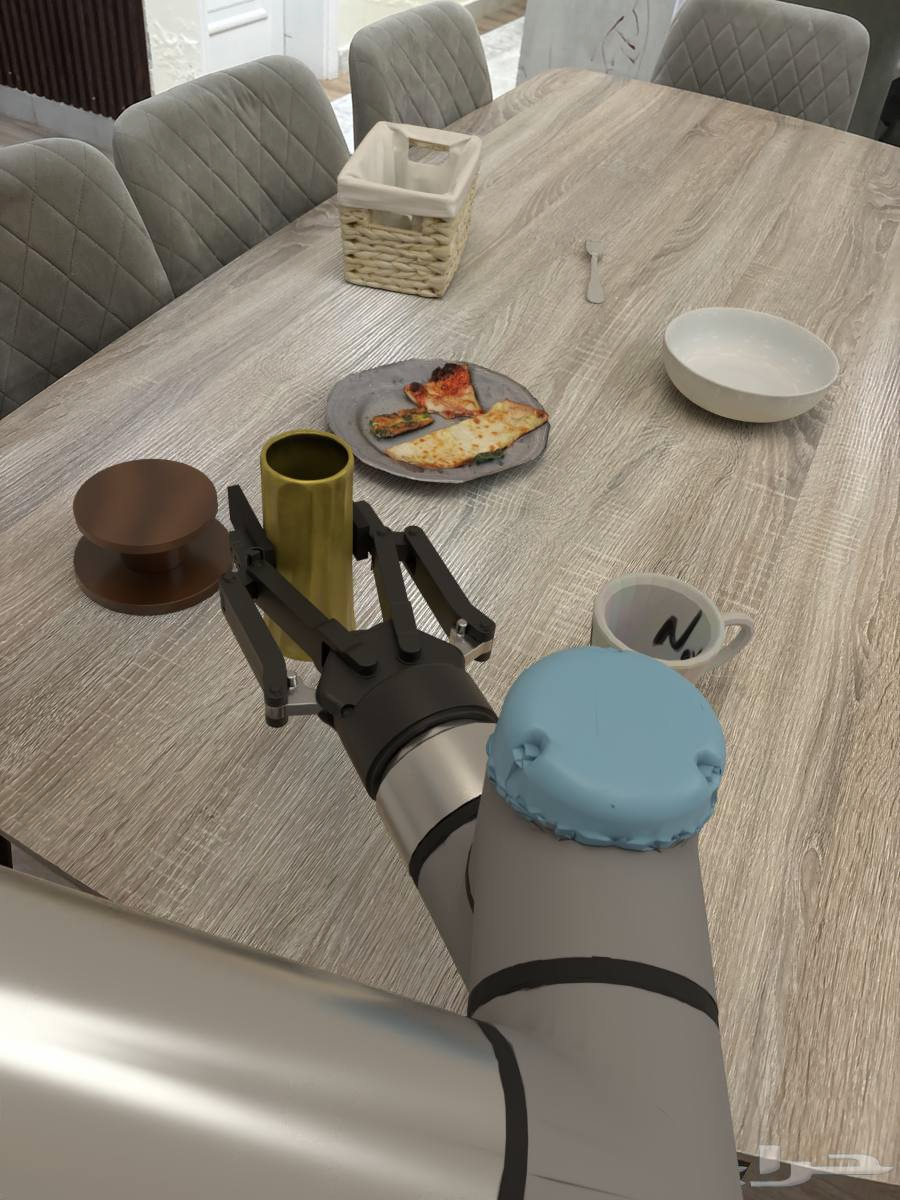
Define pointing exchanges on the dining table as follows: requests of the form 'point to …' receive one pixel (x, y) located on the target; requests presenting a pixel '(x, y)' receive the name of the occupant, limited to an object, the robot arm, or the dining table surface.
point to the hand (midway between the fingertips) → (280, 492)
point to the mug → (666, 623)
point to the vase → (310, 523)
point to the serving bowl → (747, 363)
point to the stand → (149, 537)
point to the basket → (407, 208)
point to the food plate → (437, 420)
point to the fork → (595, 273)
